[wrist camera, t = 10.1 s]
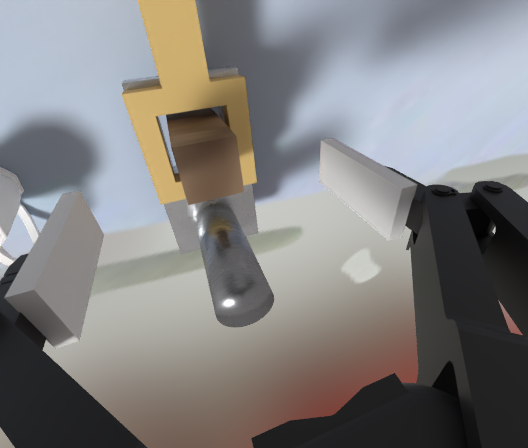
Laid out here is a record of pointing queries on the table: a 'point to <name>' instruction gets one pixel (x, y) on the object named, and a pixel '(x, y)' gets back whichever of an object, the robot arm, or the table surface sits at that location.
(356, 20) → the table surface
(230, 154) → the pin
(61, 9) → the table surface
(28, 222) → the cup
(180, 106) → the bracket
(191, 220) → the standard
